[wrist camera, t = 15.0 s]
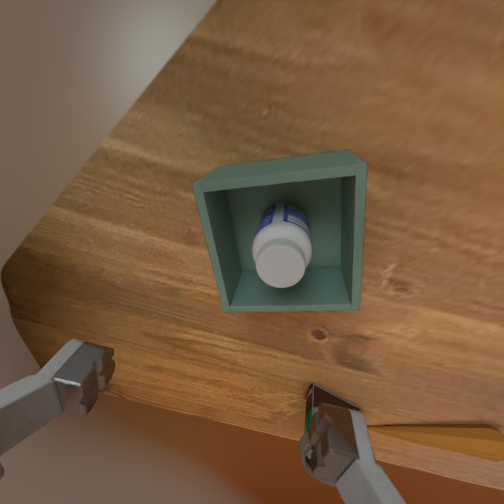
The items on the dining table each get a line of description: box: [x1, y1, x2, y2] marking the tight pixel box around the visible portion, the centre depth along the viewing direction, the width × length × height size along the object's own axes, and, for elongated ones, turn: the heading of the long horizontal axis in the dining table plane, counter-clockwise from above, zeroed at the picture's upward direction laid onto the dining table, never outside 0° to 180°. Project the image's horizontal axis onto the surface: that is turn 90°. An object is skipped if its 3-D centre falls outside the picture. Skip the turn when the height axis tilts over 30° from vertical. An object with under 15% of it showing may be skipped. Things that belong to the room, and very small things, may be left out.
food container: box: [299, 383, 377, 487], centre depth 40 cm, size 12×6×10 cm, turn 61°
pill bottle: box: [252, 202, 312, 288], centre depth 25 cm, size 5×5×10 cm
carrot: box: [367, 425, 504, 461], centre depth 42 cm, size 20×4×4 cm, turn 103°
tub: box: [192, 150, 368, 313], centre depth 27 cm, size 14×14×8 cm
